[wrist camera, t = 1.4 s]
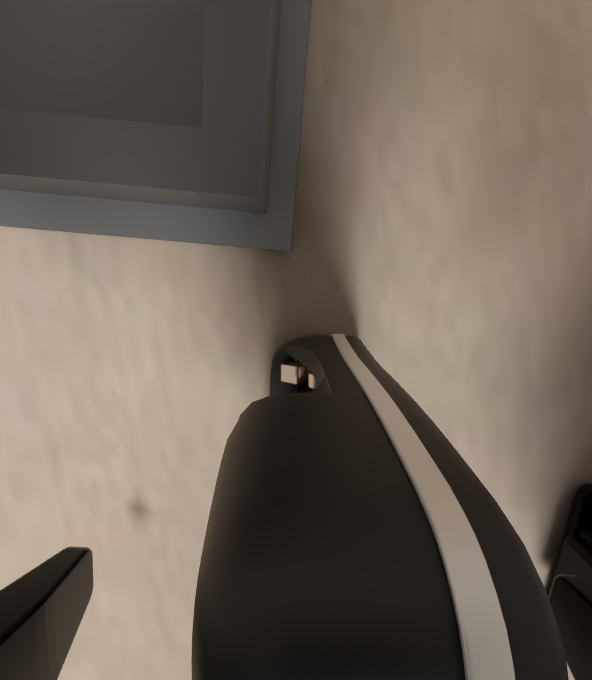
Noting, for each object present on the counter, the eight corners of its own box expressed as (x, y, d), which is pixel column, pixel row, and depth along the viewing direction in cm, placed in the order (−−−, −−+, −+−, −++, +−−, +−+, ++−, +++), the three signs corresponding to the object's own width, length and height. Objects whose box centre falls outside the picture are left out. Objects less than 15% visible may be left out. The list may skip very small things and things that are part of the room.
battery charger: (252, 325, 14) (121, 632, 3) (361, 327, 14) (649, 634, 3) (251, 502, 16) (166, 1149, 4) (349, 503, 16) (508, 1136, 4)
